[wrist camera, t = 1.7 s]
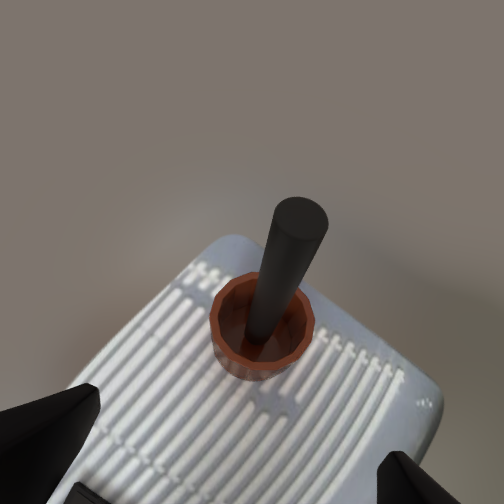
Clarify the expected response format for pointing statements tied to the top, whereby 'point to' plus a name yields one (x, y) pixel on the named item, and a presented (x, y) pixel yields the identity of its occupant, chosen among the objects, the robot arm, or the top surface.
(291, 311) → the pencil cup
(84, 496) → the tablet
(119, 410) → the top surface
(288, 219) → the stylus
